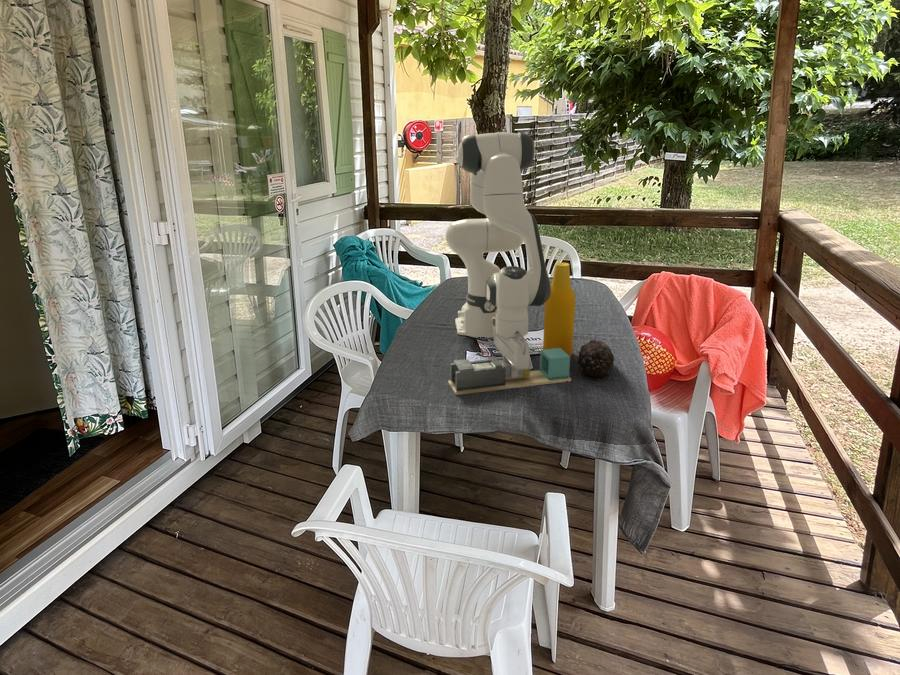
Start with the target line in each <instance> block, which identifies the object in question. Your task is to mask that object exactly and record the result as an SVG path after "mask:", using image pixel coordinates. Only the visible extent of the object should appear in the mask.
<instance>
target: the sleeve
mask: <svg viewBox="0 0 900 675" xmlns="http://www.w3.org/2000/svg"><path fill="white" fill-rule="evenodd" d="M499 361H500V359H499V358H497V357H496V356H495V355H494V356H493V355H491V356H488V357H487V359H481V360H480V359H479V360H472V361H471V360H469V359H468V358H467V359H465V358H464V359H455V360H453V363H449V366H450V367H449V368H450V371H449V372H450V373H449V376H450V377H449V378H450V379H449V380H450V381H451V383H452V385H453V386H454V388H455V389H456V391H462V390H471V389H479V388H488V387H496V386H505V378H506V367H505V366H502V364H501V363H500V362H499ZM488 362H490V363H491V364H492V365H493V366H494V367H492V368H483V369H474V367H473V366H472V365H471V364H479V363H488ZM458 370H459V371H458Z"/></svg>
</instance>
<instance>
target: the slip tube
mask: <svg viewBox="0 0 900 675" xmlns="http://www.w3.org/2000/svg"><path fill="white" fill-rule="evenodd" d="M499 362H500V363H501V364H502V366H505V367H506V378H505V380H506V379H515V378H525V377H530V371H531V365H530V366H529V368H528V369H527V370H519V371H518V377H514V378H513V377H512V376H511V375H510V370H511V369H512V366H511V363H510V362H509V361H508V360H506V361H503V360H499ZM471 365H472V366H473V367H474V369H483V368H492V367H494V366H493V365H492V364H491V363H490V362H488V363H479V364H471ZM458 371H459V370H458Z"/></svg>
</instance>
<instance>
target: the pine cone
mask: <svg viewBox="0 0 900 675" xmlns="http://www.w3.org/2000/svg"><path fill="white" fill-rule="evenodd" d="M577 359H578V360H577V362H578V365H579V367H580V369H581V372H580V375H581V377H583V378H586V379H588V380H593V381H599V382H600V381H602V382H603V381H606V380H607V379H608V378H609V376H610V374H609V373H610V372H609V371H611V370H612V368H613V365H614V364H615V363H614V362H615V356H614V354H613V352H612V349H611V348H610V346H609V345H608V344H606V343H605V342H603V341H600V340H594V339H591V340H589V341H588V342H587V343H585V344H584V345H581V347H580V350H579V352H578V356H577Z"/></svg>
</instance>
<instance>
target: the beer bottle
mask: <svg viewBox="0 0 900 675" xmlns="http://www.w3.org/2000/svg"><path fill="white" fill-rule="evenodd" d="M554 264H555V265H554V270H553V277H552V280H551V281H552V282H551V283H550V285H551V295H550V297H549V299H548V300H547V301H546V302H545V303H544V319H543V342H542V350H544V349H553V348H561V349H562V350H563V351H564V352H565V353H567V354H568V355H569V356H570V357H571V356H572V354H573V348H574V347H573V346H574V328H575V314H576V296H575V292H574V289H573V287H572V284H571V272H570V263H568V262H555V263H554Z"/></svg>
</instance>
